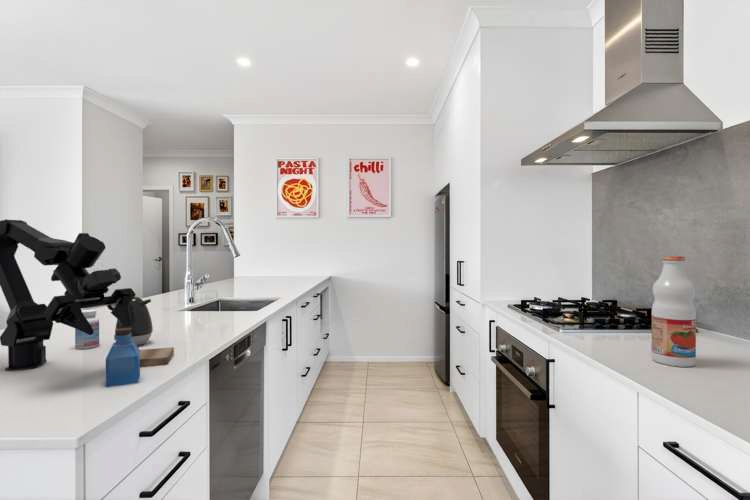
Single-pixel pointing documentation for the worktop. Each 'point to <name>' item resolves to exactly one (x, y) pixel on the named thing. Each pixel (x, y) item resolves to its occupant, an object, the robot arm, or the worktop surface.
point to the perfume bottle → (123, 360)
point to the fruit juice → (673, 316)
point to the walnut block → (155, 356)
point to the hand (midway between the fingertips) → (111, 329)
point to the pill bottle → (85, 339)
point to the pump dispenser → (138, 321)
